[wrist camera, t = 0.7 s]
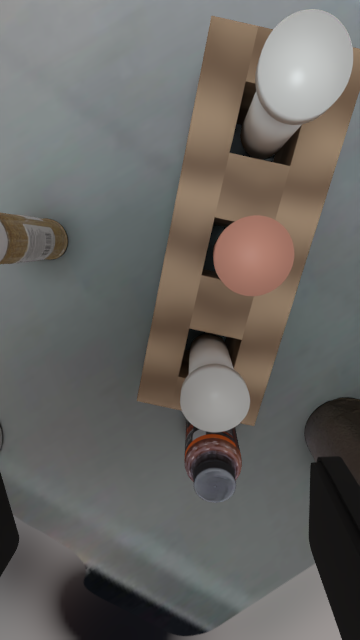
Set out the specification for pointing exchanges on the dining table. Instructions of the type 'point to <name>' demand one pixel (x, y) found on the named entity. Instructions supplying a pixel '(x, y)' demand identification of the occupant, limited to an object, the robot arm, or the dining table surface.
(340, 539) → the robot arm
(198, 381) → the grey plug
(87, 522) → the dining table surface
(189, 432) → the supplement bottle
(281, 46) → the grey plug
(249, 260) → the brick plug
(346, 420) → the pillar candle
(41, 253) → the sprinkles bottle
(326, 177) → the socket board
